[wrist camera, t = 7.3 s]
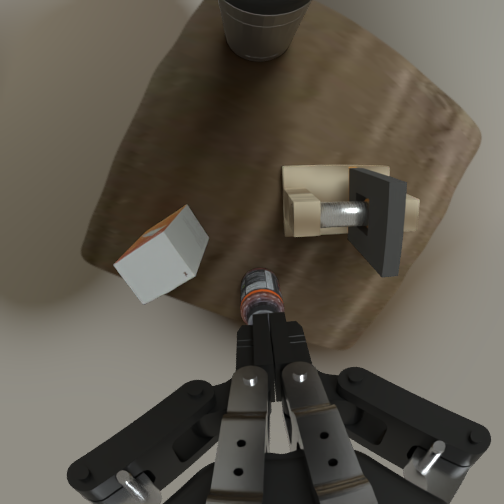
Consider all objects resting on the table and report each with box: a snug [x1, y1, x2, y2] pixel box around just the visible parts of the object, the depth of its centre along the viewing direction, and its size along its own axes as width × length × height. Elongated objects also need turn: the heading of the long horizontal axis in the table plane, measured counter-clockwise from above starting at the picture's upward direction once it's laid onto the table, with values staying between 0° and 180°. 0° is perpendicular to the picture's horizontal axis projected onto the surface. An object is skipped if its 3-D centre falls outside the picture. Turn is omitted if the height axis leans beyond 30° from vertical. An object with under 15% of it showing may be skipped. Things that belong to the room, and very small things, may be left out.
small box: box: [113, 204, 209, 305], centre depth 38 cm, size 8×6×13 cm
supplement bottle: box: [240, 268, 284, 330], centre depth 42 cm, size 6×6×11 cm
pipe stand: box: [282, 165, 420, 237], centre depth 38 cm, size 10×16×11 cm, turn 93°
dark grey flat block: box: [348, 168, 407, 277], centre depth 33 cm, size 10×2×12 cm, turn 3°
